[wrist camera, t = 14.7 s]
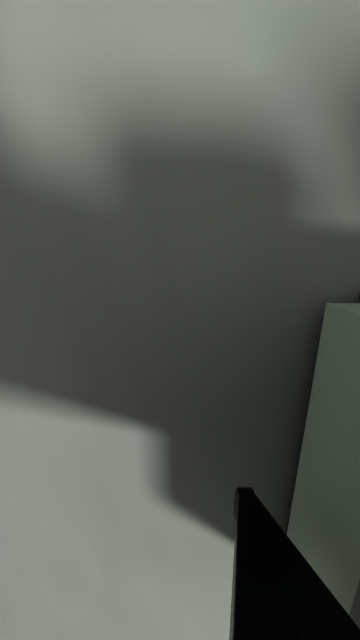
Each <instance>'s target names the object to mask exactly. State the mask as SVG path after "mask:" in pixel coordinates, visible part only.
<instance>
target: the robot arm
mask: <svg viewBox="0 0 360 640" xmlns="http://www.w3.org/2000/svg"><path fill="white" fill-rule="evenodd" d="M234 516H235V523H236V529H235V547H234V565H233V583H232V600H231V618H230V636H229V640H360V629H359V627H358V626H357V625H356V624H355V622H354V621H353V620H352V618H351V617H350V616H349V614H348V613H347V612H346V611H345V609H344V608H343V607H342V605H341V604H340V603H339V602H338V600H337V599H336V598H335V596H334V595H333V594H332V593H331V591H330V590H329V589H328V587H327V586H326V585H325V584H324V582H323V581H322V580H321V578H320V577H319V576H318V575H317V573H316V572H315V571H314V569H313V568H312V567H311V565H310V564H309V563H308V562H307V560H306V559H305V558H304V556H303V555H302V554H301V553H300V551H299V550H298V549H297V547H296V546H295V545H294V544H293V542H292V541H291V540H290V538H289V537H288V536H287V535H286V533H285V532H284V531H283V529H282V528H281V527H280V526H279V524H278V523H277V522H276V520H275V519H274V518H273V516H272V515H271V514H270V513H269V511H268V510H267V509H266V507H265V506H264V505H263V504H262V502H261V501H260V500H259V498H258V497H257V496H256V495H255V493H254V490H253V489H252V488H251V487H237V488H236V490H235V501H234Z"/></svg>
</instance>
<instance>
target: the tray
mask: <svg viewBox="0 0 360 640" xmlns="http://www.w3.org/2000/svg"><path fill="white" fill-rule="evenodd" d="M287 536H288V537H289V538H290V540H291V541H292V542H293V544H294V545H295V546H296V547H297V549H298V550H299V551H300V553H301V554H302V555H303V556H304V558H305V559H306V560H307V562H308V563H309V564H310V565H311V567H312V568H313V569H314V571H315V572H316V573H317V575H318V576H319V577H320V578H321V580H322V581H323V582H324V584H325V585H326V586H327V587H328V589H329V590H330V591H331V593H332V594H333V595H334V596H335V598H336V599H337V600H338V602H339V603H340V604H341V605H342V607H343V608H344V609H345V611H346V612H347V613H348V614H349V616H350V617H351V618H352V620H353V621H354V622H355V624H356V625H357V626H358V627H359V629H360V303H326V308H325V313H324V319H323V325H322V331H321V337H320V343H319V349H318V355H317V360H316V366H315V372H314V378H313V384H312V390H311V396H310V401H309V407H308V413H307V419H306V425H305V431H304V437H303V442H302V448H301V454H300V460H299V466H298V472H297V478H296V484H295V489H294V495H293V501H292V507H291V513H290V519H289V525H288V530H287Z"/></svg>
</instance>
